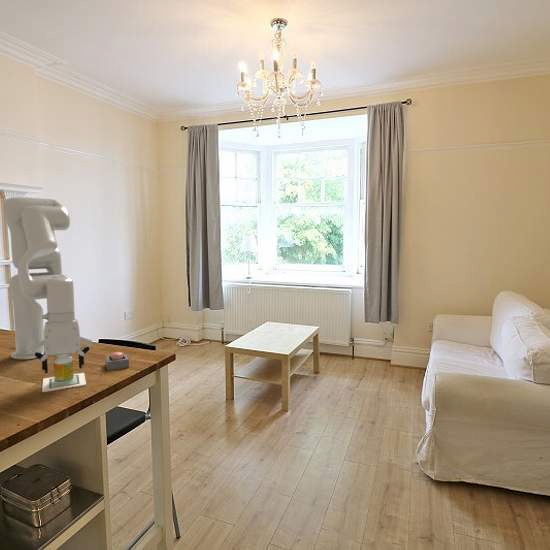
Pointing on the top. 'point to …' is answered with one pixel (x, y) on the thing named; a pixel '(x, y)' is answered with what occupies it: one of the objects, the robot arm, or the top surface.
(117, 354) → the button
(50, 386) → the cream and green mat
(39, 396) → the top surface
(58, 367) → the supplement bottle
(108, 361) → the button base
